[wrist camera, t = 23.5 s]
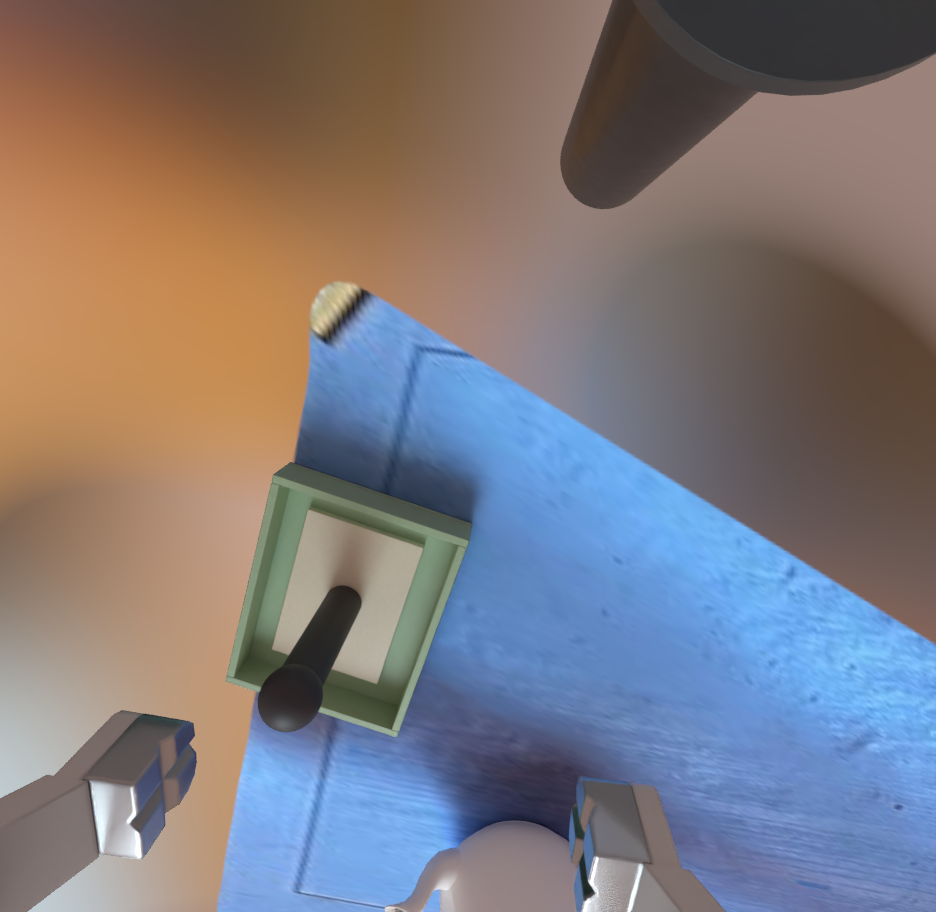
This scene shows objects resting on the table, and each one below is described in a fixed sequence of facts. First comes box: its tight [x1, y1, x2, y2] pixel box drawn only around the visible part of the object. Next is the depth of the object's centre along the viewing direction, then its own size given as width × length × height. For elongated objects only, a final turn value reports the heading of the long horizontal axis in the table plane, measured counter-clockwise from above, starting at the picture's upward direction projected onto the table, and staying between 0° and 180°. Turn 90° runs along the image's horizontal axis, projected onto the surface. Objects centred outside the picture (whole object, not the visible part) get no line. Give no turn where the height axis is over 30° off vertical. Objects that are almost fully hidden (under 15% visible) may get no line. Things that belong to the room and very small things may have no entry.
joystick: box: [258, 507, 425, 732], centre depth 34 cm, size 13×9×13 cm
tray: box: [226, 462, 472, 737], centre depth 39 cm, size 18×14×3 cm
